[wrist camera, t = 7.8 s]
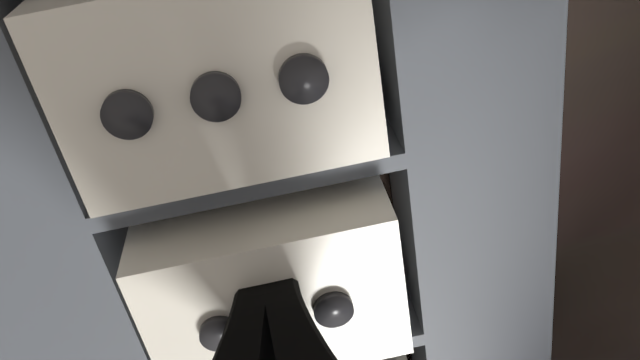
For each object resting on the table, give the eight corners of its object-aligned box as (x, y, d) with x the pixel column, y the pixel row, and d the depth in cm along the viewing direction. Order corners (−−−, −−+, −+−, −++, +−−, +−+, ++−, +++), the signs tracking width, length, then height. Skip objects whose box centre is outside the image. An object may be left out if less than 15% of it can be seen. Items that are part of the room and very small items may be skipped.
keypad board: (514, 402, 22) (545, 465, 20) (128, 485, 22) (116, 559, 19) (518, -229, 12) (579, -239, 10) (-191, -93, 12) (-285, -74, 10)
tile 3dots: (358, 90, 15) (392, 161, 12) (118, 139, 15) (87, 224, 12) (334, -82, 13) (367, -51, 10) (55, -28, 13) (-2, 22, 10)
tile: (382, 263, 18) (416, 358, 15) (180, 305, 18) (170, 411, 15) (366, 144, 16) (400, 225, 13) (137, 191, 16) (114, 285, 13)
